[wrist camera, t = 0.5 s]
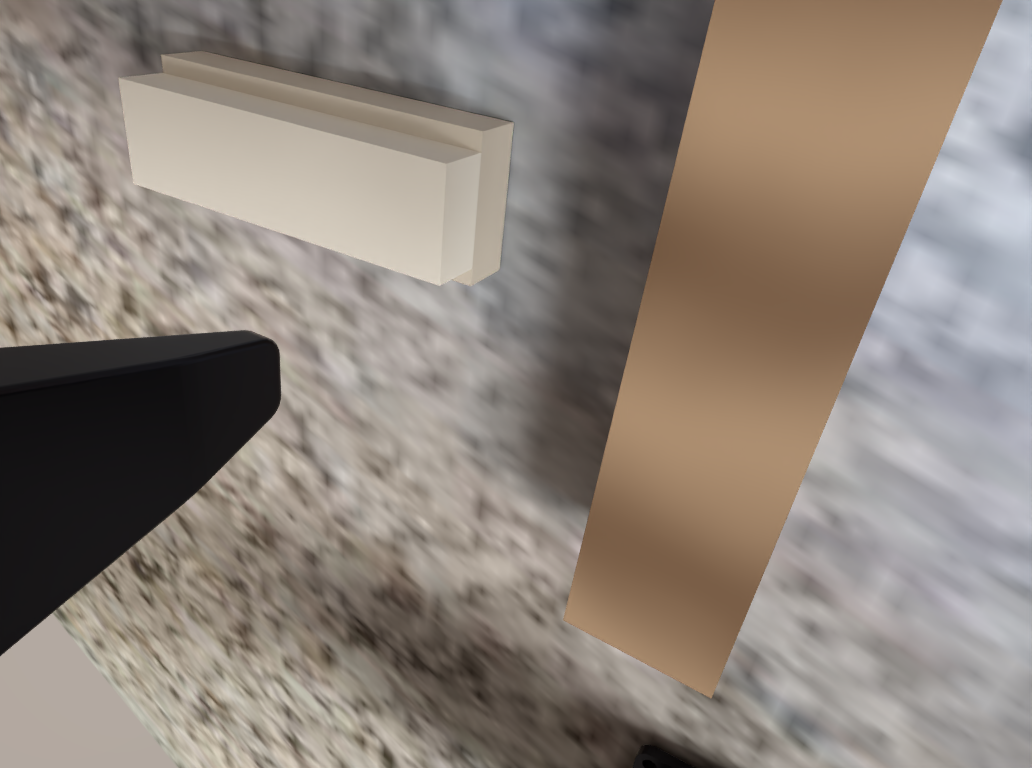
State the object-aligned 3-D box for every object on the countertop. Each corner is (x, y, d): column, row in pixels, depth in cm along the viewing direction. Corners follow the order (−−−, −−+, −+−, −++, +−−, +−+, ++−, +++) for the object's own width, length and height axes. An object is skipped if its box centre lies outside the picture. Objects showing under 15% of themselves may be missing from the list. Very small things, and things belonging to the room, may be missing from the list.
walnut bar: (758, 585, 22) (711, 698, 19) (629, 526, 24) (562, 620, 20) (1149, -352, 12) (1205, -489, 8) (878, -359, 13) (832, -478, 10)
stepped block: (499, 269, 22) (438, 304, 20) (213, 180, 26) (135, 200, 24) (514, 122, 20) (447, 141, 18) (202, 51, 24) (115, 58, 22)
